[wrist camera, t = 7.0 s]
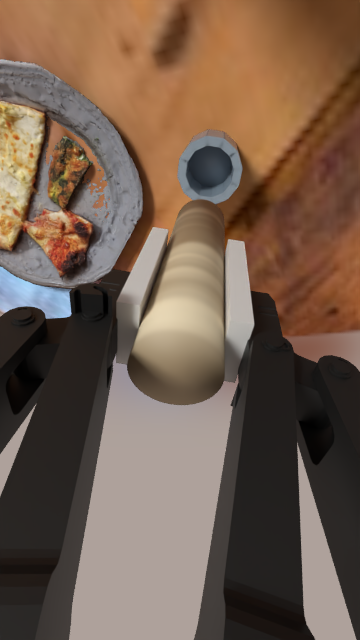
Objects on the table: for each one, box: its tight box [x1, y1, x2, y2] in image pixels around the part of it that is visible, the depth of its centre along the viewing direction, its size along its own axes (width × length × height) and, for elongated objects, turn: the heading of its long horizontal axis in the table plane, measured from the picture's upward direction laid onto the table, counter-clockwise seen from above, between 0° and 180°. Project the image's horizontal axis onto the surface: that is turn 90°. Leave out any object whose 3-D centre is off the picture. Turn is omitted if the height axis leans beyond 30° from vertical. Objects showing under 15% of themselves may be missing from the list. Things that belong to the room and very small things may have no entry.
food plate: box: [0, 59, 143, 289], centre depth 39 cm, size 25×23×4 cm
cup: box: [178, 129, 242, 204], centre depth 34 cm, size 6×6×5 cm
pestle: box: [127, 199, 225, 405], centre depth 15 cm, size 3×3×13 cm
